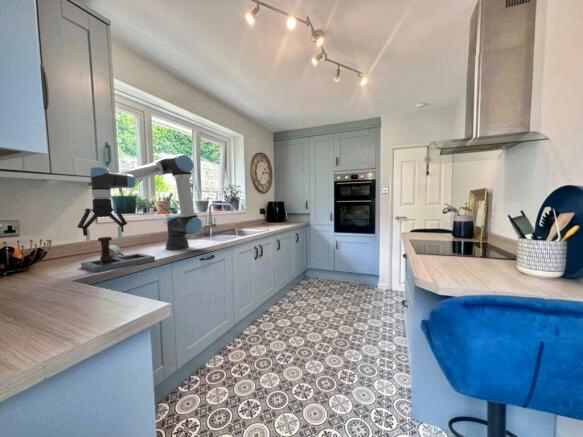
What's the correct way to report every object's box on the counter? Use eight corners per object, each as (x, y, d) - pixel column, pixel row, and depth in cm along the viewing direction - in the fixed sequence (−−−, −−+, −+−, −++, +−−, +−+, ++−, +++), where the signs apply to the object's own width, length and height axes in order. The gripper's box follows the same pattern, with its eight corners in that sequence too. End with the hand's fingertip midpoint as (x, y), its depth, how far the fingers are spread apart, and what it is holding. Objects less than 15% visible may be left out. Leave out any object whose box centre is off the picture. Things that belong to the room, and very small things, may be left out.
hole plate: (138, 257, 145) (138, 253, 145) (154, 260, 135) (154, 256, 135) (81, 267, 123) (80, 262, 123) (95, 272, 113) (95, 267, 112)
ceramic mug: (99, 260, 139) (99, 247, 138) (106, 257, 147) (106, 245, 146) (121, 259, 142) (120, 246, 141) (126, 256, 149) (126, 244, 149)
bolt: (105, 268, 121) (103, 238, 120) (97, 267, 122) (95, 238, 121) (115, 265, 126) (114, 236, 126) (107, 264, 127) (106, 236, 127)
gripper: (126, 198, 134) (128, 236, 136) (66, 198, 114) (70, 243, 115) (132, 198, 130) (135, 237, 132) (72, 198, 110) (75, 244, 111)
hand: (105, 240), depth 123 cm, fingers open, 13 cm apart
